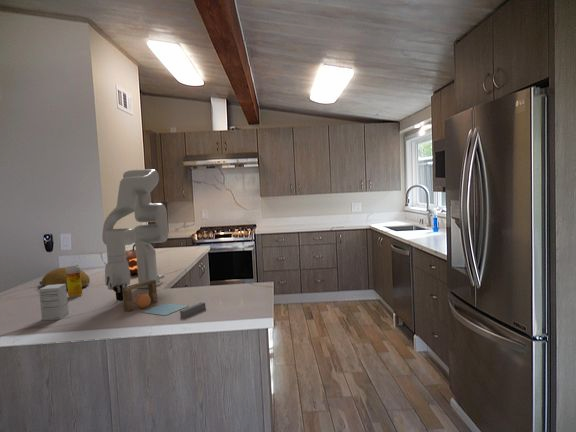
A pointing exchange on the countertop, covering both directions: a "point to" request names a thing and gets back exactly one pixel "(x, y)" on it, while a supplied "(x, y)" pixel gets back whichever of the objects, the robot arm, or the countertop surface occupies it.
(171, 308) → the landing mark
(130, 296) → the bridge
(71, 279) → the beer can
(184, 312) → the stopper
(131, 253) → the pumpkin
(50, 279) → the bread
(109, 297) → the countertop surface
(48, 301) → the supplement box
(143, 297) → the ball
